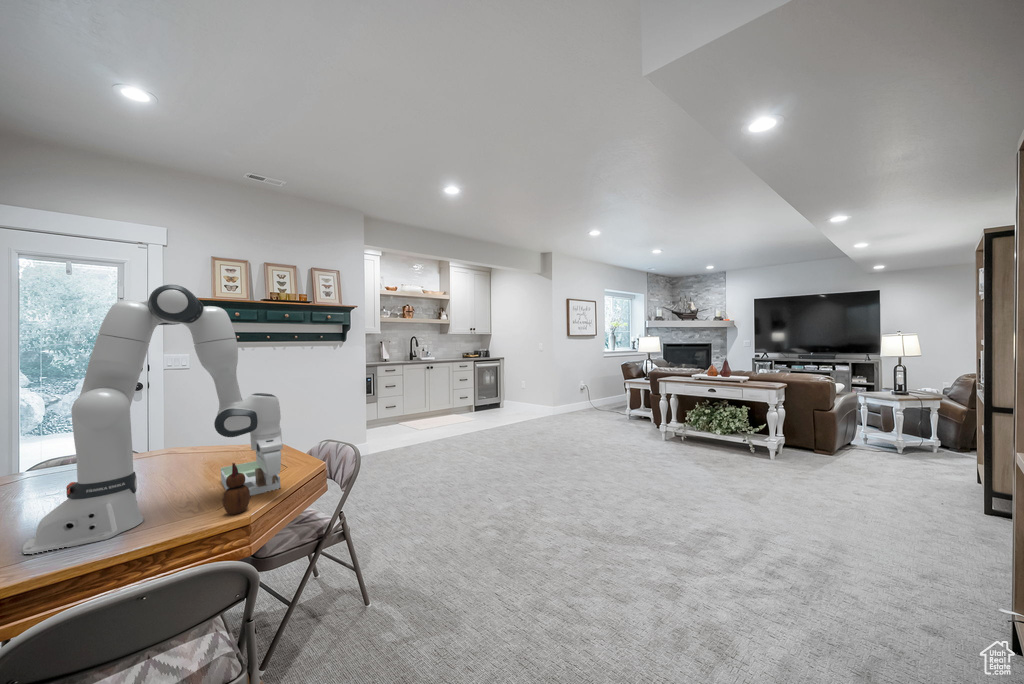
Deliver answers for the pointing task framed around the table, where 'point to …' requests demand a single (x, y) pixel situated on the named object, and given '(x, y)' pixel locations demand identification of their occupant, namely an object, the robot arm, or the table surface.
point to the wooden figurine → (236, 493)
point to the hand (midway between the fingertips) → (268, 483)
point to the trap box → (249, 478)
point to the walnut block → (261, 478)
